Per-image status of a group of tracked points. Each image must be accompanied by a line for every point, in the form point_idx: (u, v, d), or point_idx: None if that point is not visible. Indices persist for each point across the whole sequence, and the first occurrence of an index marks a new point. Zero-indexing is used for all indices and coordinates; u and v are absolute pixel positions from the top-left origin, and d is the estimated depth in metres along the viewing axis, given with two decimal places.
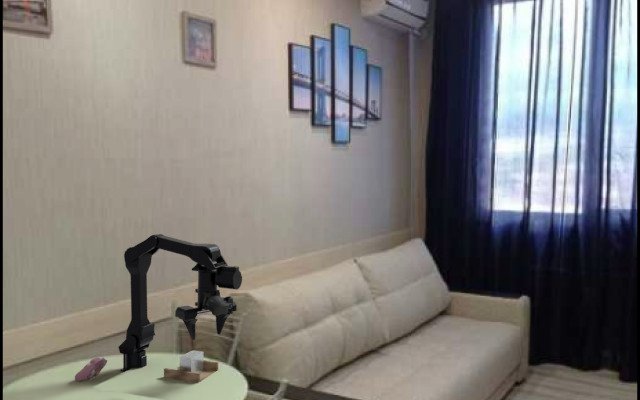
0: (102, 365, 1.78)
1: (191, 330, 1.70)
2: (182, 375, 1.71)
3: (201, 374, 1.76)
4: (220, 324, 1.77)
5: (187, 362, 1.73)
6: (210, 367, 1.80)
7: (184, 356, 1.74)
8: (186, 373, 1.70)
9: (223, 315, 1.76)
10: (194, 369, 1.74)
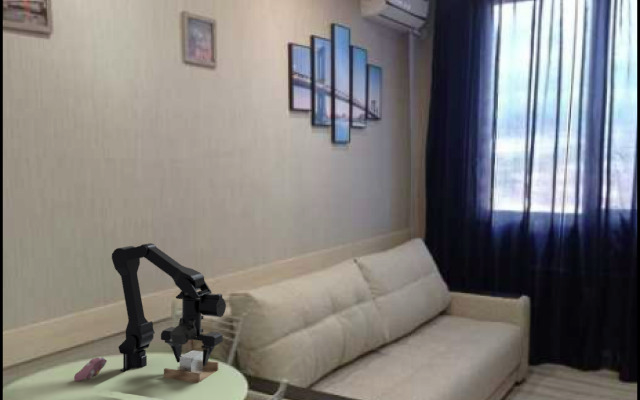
0: (101, 365, 1.78)
1: None
2: (182, 375, 1.71)
3: (201, 374, 1.76)
4: None
5: (187, 362, 1.73)
6: (210, 367, 1.80)
7: (184, 356, 1.74)
8: (186, 373, 1.70)
9: None
10: (194, 369, 1.74)
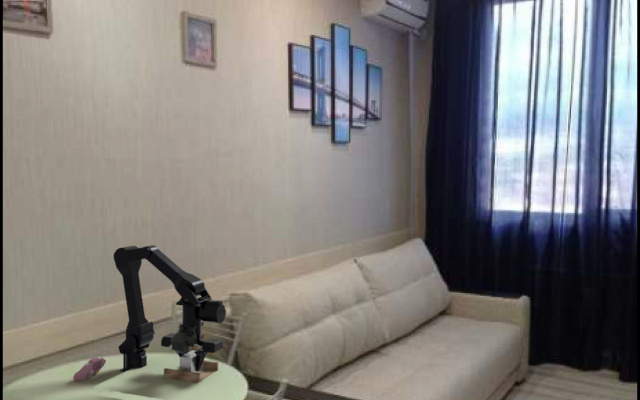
0: (101, 365, 1.78)
1: None
2: (182, 375, 1.71)
3: (201, 374, 1.76)
4: None
5: (187, 362, 1.73)
6: (210, 367, 1.80)
7: (184, 356, 1.74)
8: (186, 373, 1.70)
9: None
10: (194, 369, 1.74)
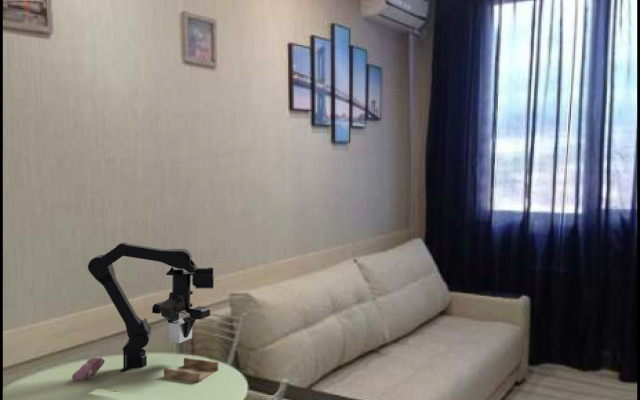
0: (99, 365, 1.78)
1: None
2: (182, 375, 1.71)
3: (201, 374, 1.76)
4: None
5: (176, 328, 1.81)
6: (210, 367, 1.80)
7: (174, 322, 1.83)
8: (186, 373, 1.70)
9: None
10: (182, 335, 1.83)
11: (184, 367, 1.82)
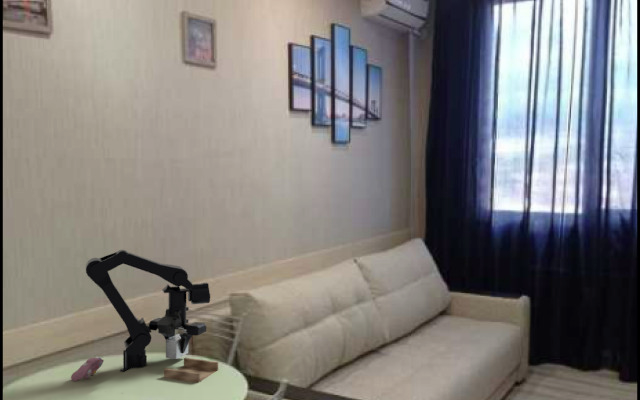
0: (98, 365, 1.78)
1: None
2: (182, 375, 1.71)
3: (201, 374, 1.76)
4: None
5: (173, 344, 1.85)
6: (210, 367, 1.80)
7: (170, 338, 1.86)
8: (186, 373, 1.70)
9: None
10: (179, 350, 1.86)
11: (184, 367, 1.82)
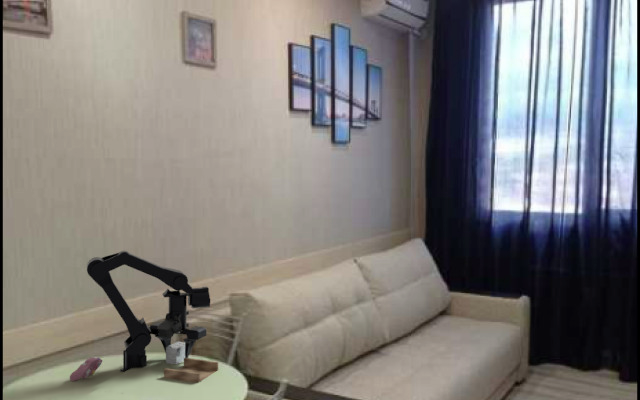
0: (97, 365, 1.78)
1: None
2: (182, 375, 1.71)
3: (201, 374, 1.76)
4: None
5: (173, 352, 1.85)
6: (210, 367, 1.80)
7: (170, 346, 1.86)
8: (186, 373, 1.70)
9: None
10: (179, 358, 1.86)
11: (184, 367, 1.82)
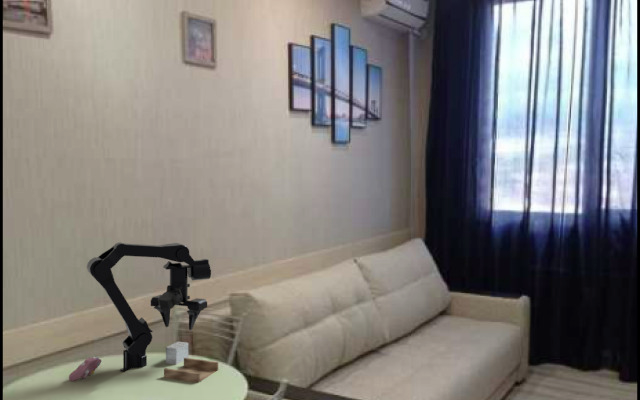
0: (96, 365, 1.78)
1: None
2: (182, 375, 1.71)
3: (201, 374, 1.76)
4: None
5: (173, 352, 1.85)
6: (210, 367, 1.80)
7: (170, 346, 1.86)
8: (186, 373, 1.70)
9: None
10: (179, 358, 1.86)
11: (184, 367, 1.82)
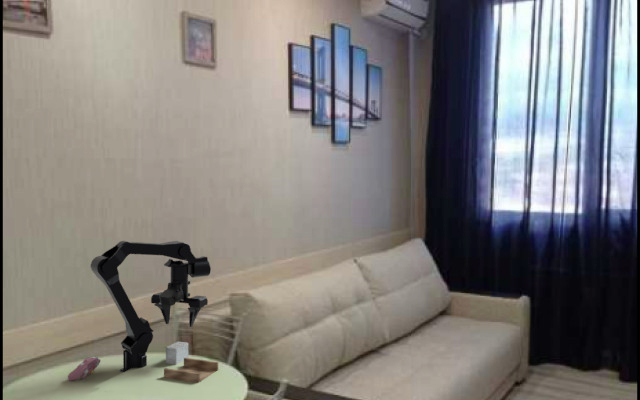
0: (95, 365, 1.78)
1: None
2: (182, 375, 1.71)
3: (201, 374, 1.76)
4: None
5: (173, 352, 1.85)
6: (210, 367, 1.80)
7: (170, 346, 1.86)
8: (186, 373, 1.70)
9: None
10: (179, 358, 1.86)
11: (184, 367, 1.82)
